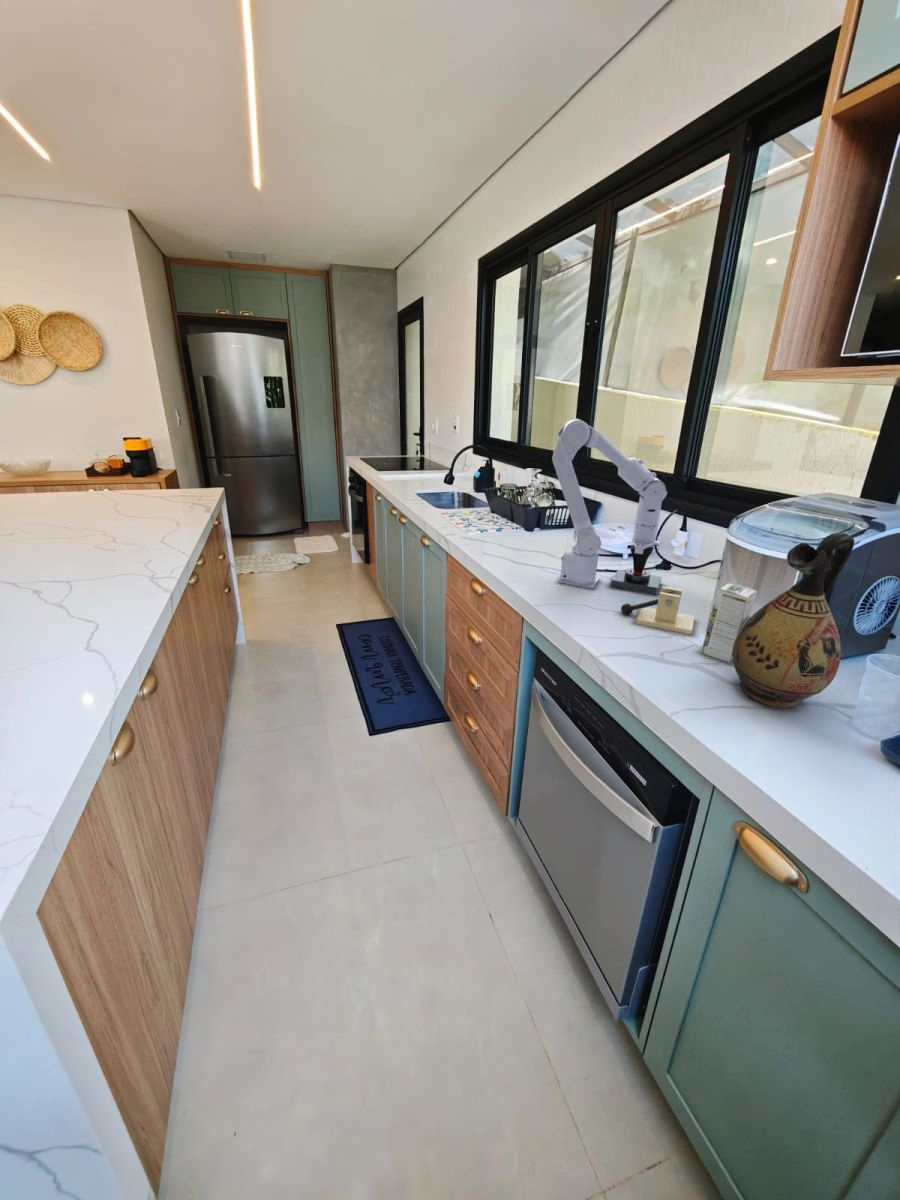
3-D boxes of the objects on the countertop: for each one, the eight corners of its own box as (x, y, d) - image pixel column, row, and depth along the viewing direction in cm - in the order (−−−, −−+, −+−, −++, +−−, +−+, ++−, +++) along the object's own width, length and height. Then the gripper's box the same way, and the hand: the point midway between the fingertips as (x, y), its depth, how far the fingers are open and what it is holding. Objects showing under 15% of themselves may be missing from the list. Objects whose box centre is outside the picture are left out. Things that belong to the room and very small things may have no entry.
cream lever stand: (635, 623, 118) (640, 592, 115) (641, 610, 125) (646, 581, 122) (691, 635, 112) (698, 603, 110) (693, 620, 120) (700, 590, 117)
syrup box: (710, 644, 108) (726, 581, 103) (740, 654, 105) (758, 589, 99) (700, 653, 105) (716, 588, 99) (730, 663, 101) (748, 597, 95)
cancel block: (610, 587, 139) (612, 573, 138) (617, 576, 148) (619, 563, 146) (656, 595, 134) (658, 581, 133) (660, 584, 143) (663, 570, 141)
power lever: (622, 617, 122) (618, 607, 121) (624, 613, 124) (620, 603, 124) (677, 604, 115) (673, 593, 114) (678, 600, 117) (674, 589, 117)
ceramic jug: (783, 729, 81) (843, 551, 70) (705, 681, 94) (744, 525, 83) (848, 706, 88) (913, 540, 76) (766, 665, 101) (811, 517, 89)
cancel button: (629, 578, 139) (630, 572, 139) (631, 574, 142) (632, 569, 142) (642, 581, 138) (643, 575, 137) (644, 577, 141) (645, 571, 140)
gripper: (659, 532, 127) (649, 582, 132) (665, 520, 138) (656, 567, 144) (630, 528, 130) (622, 577, 135) (638, 517, 141) (631, 563, 147)
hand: (638, 572), depth 139 cm, fingers closed, pressing on cancel button
